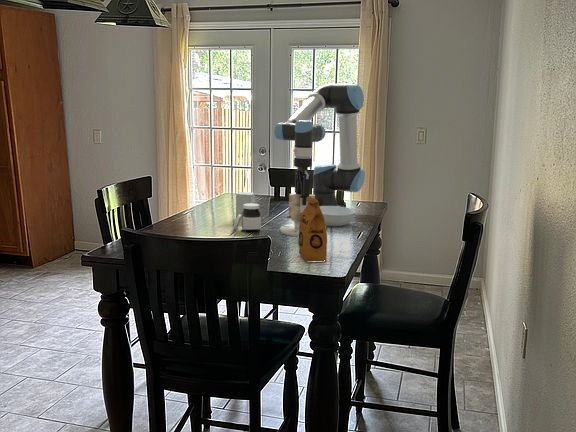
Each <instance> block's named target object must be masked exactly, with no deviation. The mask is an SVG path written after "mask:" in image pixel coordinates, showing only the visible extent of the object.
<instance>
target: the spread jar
mask: <svg viewBox="0 0 576 432" xmlns="http://www.w3.org/2000/svg"><path fill="white" fill-rule="evenodd" d="M243 208H244V209H243V211H242V215H238V216H237V218H236V217H235V220H234V223H233V227H232V229H233V230H234V231H237V230H238V229H239V226H240V224H241V230H242V232H243V233H247V234H248V233H249V234H255V233H259V232H261V225H262V223H261V221H262V215H261V214H262V213H261V210H260V204H258V203H255V202H254V203H248V204H244V205H243ZM241 219H242V221H241Z"/></svg>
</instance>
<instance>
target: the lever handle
mask: <svg viewBox="0 0 576 432" xmlns="http://www.w3.org/2000/svg"><path fill="white" fill-rule="evenodd" d="M300 196H301V194H296V193H289V195H288V215H286V219H288V220H289V219H290V220H291V221H292V222H294V221H296V222H300V216H301V214H302V213H300ZM309 197H312V198H314V199H315V195H313V194H310V193H309ZM307 198H308V197H307ZM307 204H308V201H307Z"/></svg>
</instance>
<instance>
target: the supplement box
mask: <svg viewBox="0 0 576 432" xmlns="http://www.w3.org/2000/svg"><path fill="white" fill-rule="evenodd" d="M255 195H256V193H255V192H252V191H251V192H249V191H240V192H238V193H236V194H235V219H236V218H237V216H238V215H242V211H243V209H244V208H243V205H244V204H248V203H254V204H255ZM241 222H242V219H241Z"/></svg>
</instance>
